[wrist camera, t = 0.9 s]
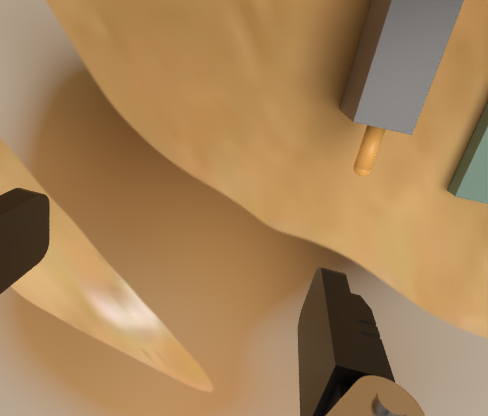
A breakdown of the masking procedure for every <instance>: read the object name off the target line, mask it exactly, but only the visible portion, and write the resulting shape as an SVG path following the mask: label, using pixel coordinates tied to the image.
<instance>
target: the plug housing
mask: <svg viewBox="0 0 488 416" xmlns="http://www.w3.org/2000/svg"><path fill="white" fill-rule="evenodd" d="M463 1H464V0H372V1H371V4H370V7H369V11H368V14H367V17H366V21H365V24H364V28H363V31H362V34H361V38H360V41H359V44H358V48H357V51H356V55H355V58H354V61H353V65H352V68H351V71H350V75H349V78H348V81H347V85H346V88H345V92H344V95H343V98H342V102H341V105H340V108H339V109H340V110H341V111H342V112H343V113H344V114H345V115H346V116H347V117H348V118H349V119H351V120H352V121H353V122H356V123H360V124H365V125H367V128H366V131H365V134H364V137H363V140H362V143H361V146H360V149H359V152H358V155H357V158H356V161H355V164H354V172H355V173H356V174H357V175H358V176H366V175H368V174H369V173H370V171H371V169H372V166H373V163H374V160H375V157H376V154H377V152H378V149H379V146H380V143H381V140H382V137H383V135H384V132H385V129H387V130H392V131H396V132H401V133H405V134H410V135H412V133H413V131H414V128H415V126H416V123H417V120H418V118H419V115H420V113H421V110H422V107H423V105H424V102H425V100H426V97H427V95H428V92H429V89H430V87H431V84H432V82H433V79H434V76H435V74H436V71H437V69H438V66H439V63H440V61H441V58H442V56H443V53H444V50H445V48H446V45H447V43H448V40H449V38H450V35H451V32H452V30H453V27H454V25H455V22H456V19H457V17H458V14H459V12H460V9H461V6H462V4H463Z"/></svg>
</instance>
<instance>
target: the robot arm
mask: <svg viewBox="0 0 488 416" xmlns="http://www.w3.org/2000/svg"><path fill="white" fill-rule="evenodd" d="M48 246H49V199H48V197H47V196H46V195H44V194H41V193H37V192H33V191H29V190H25V189H22V188H15V189H13V190H11V191H9V192H7V193H4V194H2V195H0V294H1V293H2V292H3V291H5V290H6V289H7V288H8V287H10V286H11V285H12V284H13V283H15V282H16V281H17V280H18V279H19V278H21V277H22V276H23V275H24V274H26V273H27V272H28V271H29V270H31V269H32V268H33V267H34V266H35V265H37V264H38V263H39V262H40V261H41V260H42V259H43V257H44V256H45V254H46V252H47V249H48ZM298 355H299V388H300V416H425V415H424V412H423V410H422V409H421V407H420V406H419V404H418V403H417V401H416V400H415V399H414V398H413V397H412V396H411V395H410V394H409V393H408V392H407V391H406V390H405V389H403V388H402V387H401V386H399V385H398V384H396V383H395V380H394V377H393V374H392V371H391V368H390V365H389V362H388V359H387V356H386V353H385V350H384V346H383V344H382V340H381V339H380V334H379V331H378V328H377V327H376V322H375V319H374V316H373V313H372V310H371V308H370V307H369V306H368V305H367V304H366V302H365V301H364V300H363V299H362V297H361V296H360V295H356V294H352V293H351V292H350V289H349V285H348V281H347V278H346V274H344V273H341V272H337V271H333V270H330V269H326V268H322V267H318V269H317V270H316V272H315V275H314V277H313V280H312V283H311V286H310V289H309V291H308V294H307V296H306V299H305V302H304V304H303V307H302V310H301V313H300V318H299V323H298Z"/></svg>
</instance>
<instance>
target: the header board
mask: <svg viewBox="0 0 488 416" xmlns="http://www.w3.org/2000/svg"><path fill="white" fill-rule="evenodd" d="M448 191H449V192H450V193H451V194H453V195H454V196H456V197H460V198H465V199H469V200H473V201H478V202H482V203H487V204H488V102H487V105H486V107H485V109H484V111H483V113H482V116H481V118H480V120H479V122H478V124H477V127H476V129H475V131H474V133H473V136H472V138H471V140H470V142H469V144H468V147H467V149H466V151H465V153H464V155H463V158H462V160H461V162H460V164H459V166H458V169H457V171H456V173H455V175H454V177H453V180H452V182H451V184H450V186H449V188H448Z"/></svg>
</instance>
